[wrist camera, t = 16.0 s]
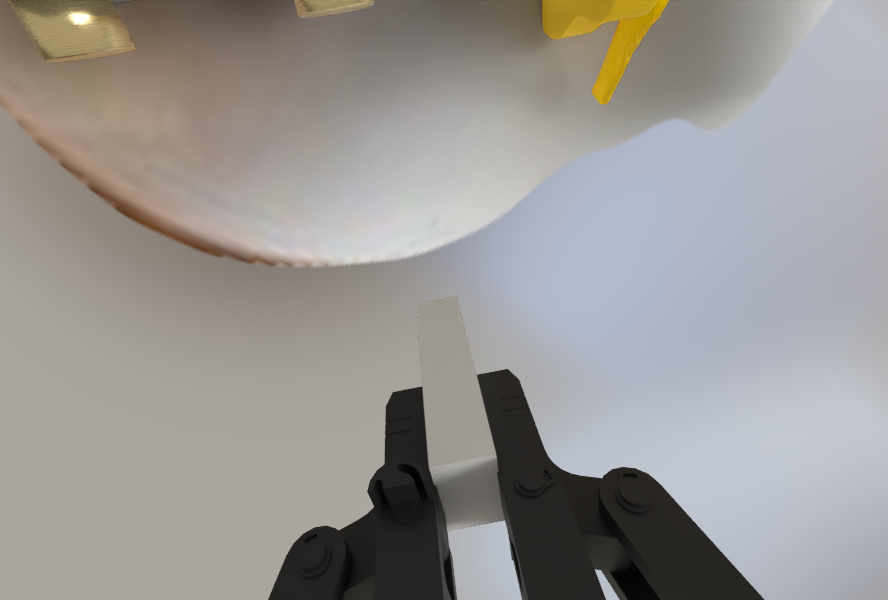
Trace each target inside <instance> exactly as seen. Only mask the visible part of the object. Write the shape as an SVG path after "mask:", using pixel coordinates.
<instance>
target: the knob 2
mask: <svg viewBox="0 0 888 600" xmlns="http://www.w3.org/2000/svg"><path fill="white" fill-rule="evenodd" d="M294 3H295V6H296V10H297V13H298V17H300V18H311V17H321V16H328V15H335V14H340V13H346V12H350V11H355V10H359V9H363V8H366V7H369V6H372V5H374V0H294Z"/></svg>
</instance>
